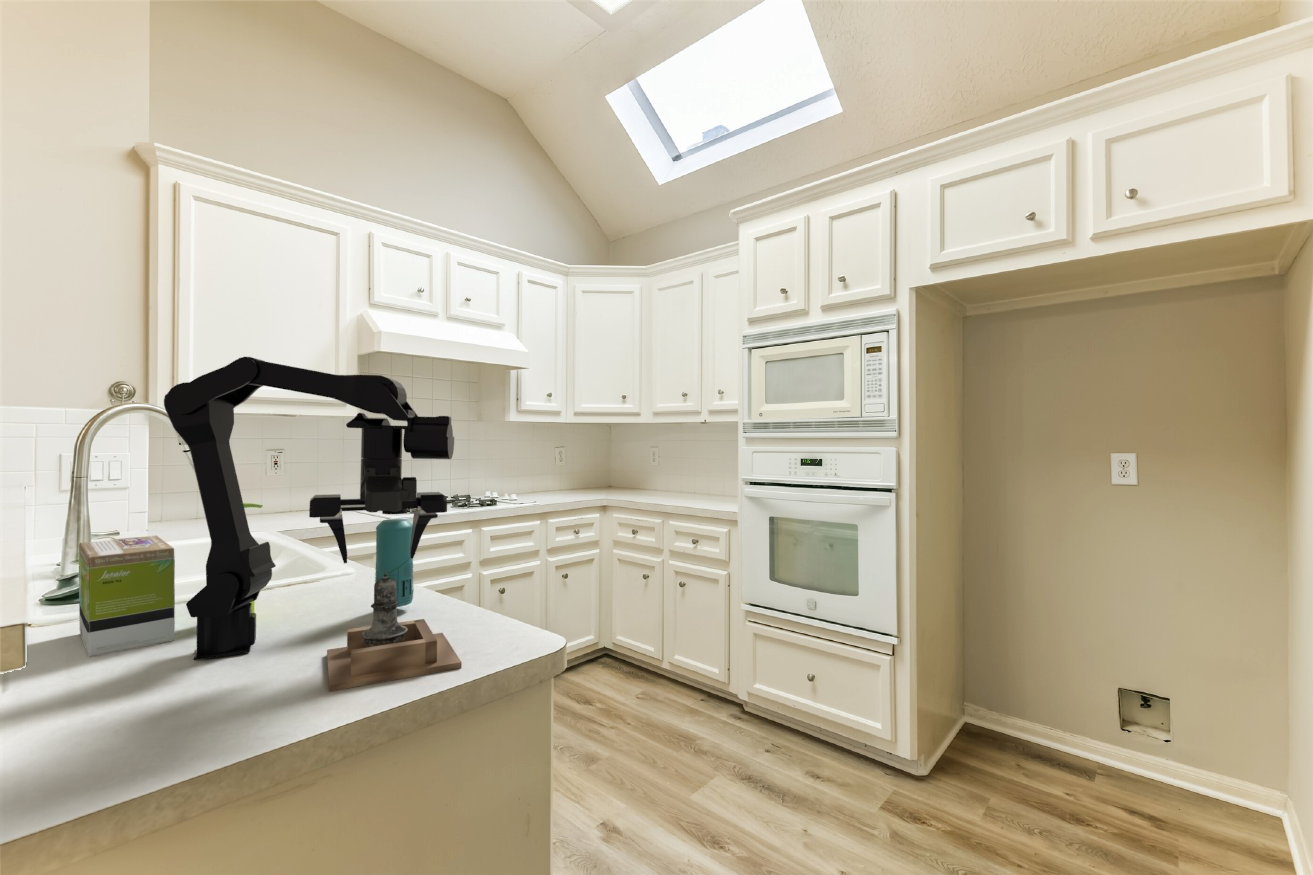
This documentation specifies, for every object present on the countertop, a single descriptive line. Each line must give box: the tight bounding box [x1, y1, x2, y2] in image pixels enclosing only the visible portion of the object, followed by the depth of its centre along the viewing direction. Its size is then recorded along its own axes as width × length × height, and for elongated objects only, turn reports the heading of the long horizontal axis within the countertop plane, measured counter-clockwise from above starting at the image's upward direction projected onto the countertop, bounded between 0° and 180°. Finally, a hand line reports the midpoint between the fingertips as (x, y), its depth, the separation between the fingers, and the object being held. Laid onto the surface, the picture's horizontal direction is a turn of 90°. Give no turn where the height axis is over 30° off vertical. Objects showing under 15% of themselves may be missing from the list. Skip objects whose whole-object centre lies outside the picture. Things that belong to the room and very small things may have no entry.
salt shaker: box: [362, 572, 408, 647], centre depth 83 cm, size 6×6×12 cm
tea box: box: [78, 535, 176, 658], centre depth 92 cm, size 15×10×15 cm, turn 48°
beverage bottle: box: [374, 509, 415, 608], centre depth 108 cm, size 6×7×20 cm
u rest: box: [326, 618, 463, 692], centre depth 84 cm, size 16×14×4 cm
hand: (379, 560), depth 91 cm, fingers open, 9 cm apart
